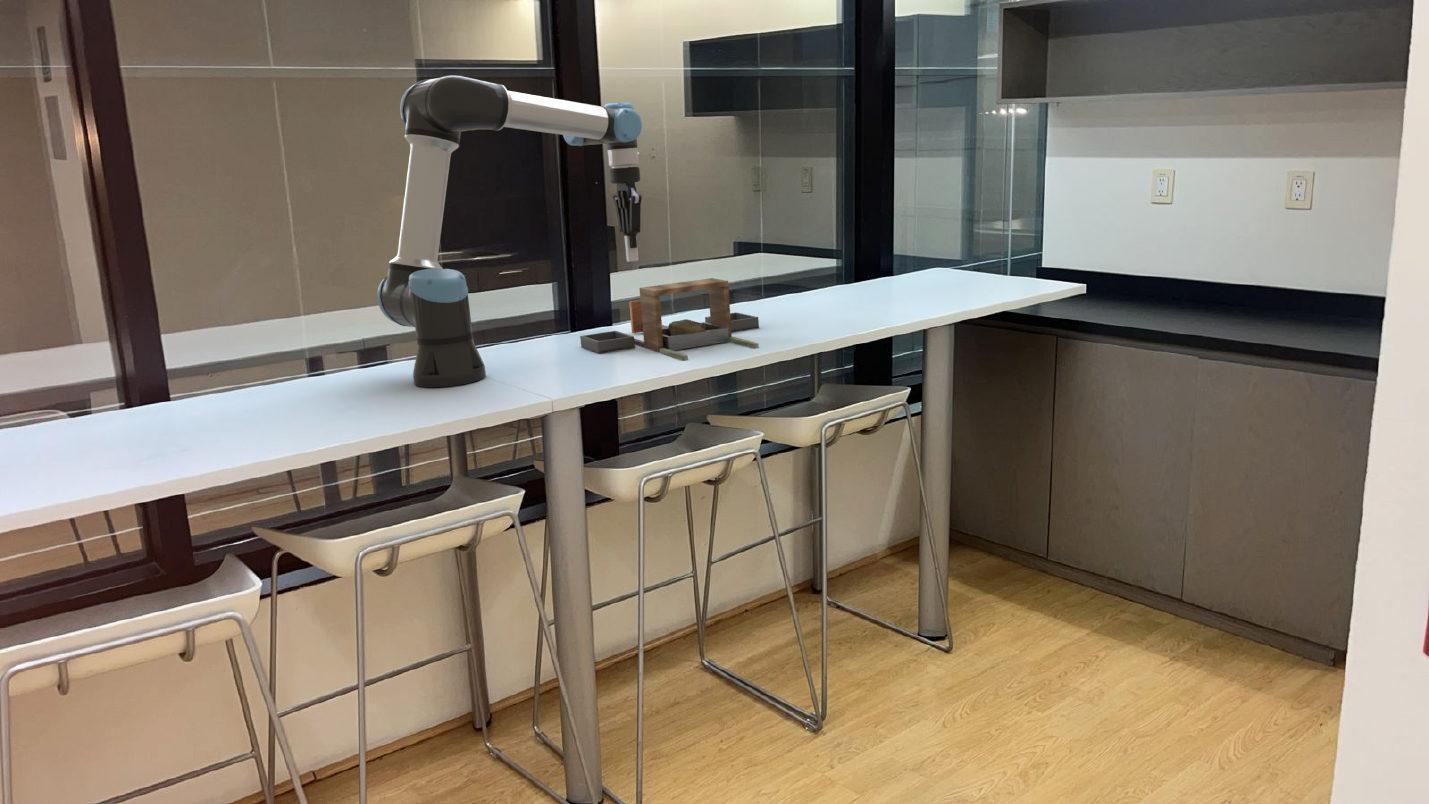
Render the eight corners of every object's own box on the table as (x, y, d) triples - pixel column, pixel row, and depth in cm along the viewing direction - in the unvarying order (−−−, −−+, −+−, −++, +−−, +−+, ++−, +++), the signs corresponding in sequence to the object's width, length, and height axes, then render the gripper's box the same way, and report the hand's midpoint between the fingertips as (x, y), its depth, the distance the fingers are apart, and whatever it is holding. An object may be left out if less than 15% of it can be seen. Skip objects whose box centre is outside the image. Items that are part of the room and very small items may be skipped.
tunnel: (683, 360, 232) (678, 296, 228) (616, 338, 264) (611, 282, 260) (758, 347, 240) (755, 285, 237) (685, 328, 272) (681, 273, 269)
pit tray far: (726, 333, 261) (726, 322, 260) (705, 327, 270) (704, 317, 270) (758, 328, 265) (758, 317, 264) (737, 323, 275) (736, 312, 274)
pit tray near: (598, 353, 246) (597, 342, 245) (581, 347, 255) (580, 335, 255) (634, 348, 250) (633, 336, 249) (616, 341, 259) (615, 330, 259)
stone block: (689, 338, 256) (688, 317, 255) (709, 345, 246) (707, 324, 245) (667, 341, 254) (666, 320, 253) (686, 348, 244) (684, 327, 243)
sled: (669, 351, 242) (666, 316, 240) (618, 334, 267) (615, 303, 265) (728, 341, 249) (726, 307, 247) (673, 326, 274) (671, 295, 272)
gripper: (648, 165, 261) (656, 260, 267) (627, 165, 273) (635, 257, 278) (620, 167, 258) (629, 264, 264) (600, 168, 269) (609, 260, 275)
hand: (632, 260), depth 271 cm, fingers closed
